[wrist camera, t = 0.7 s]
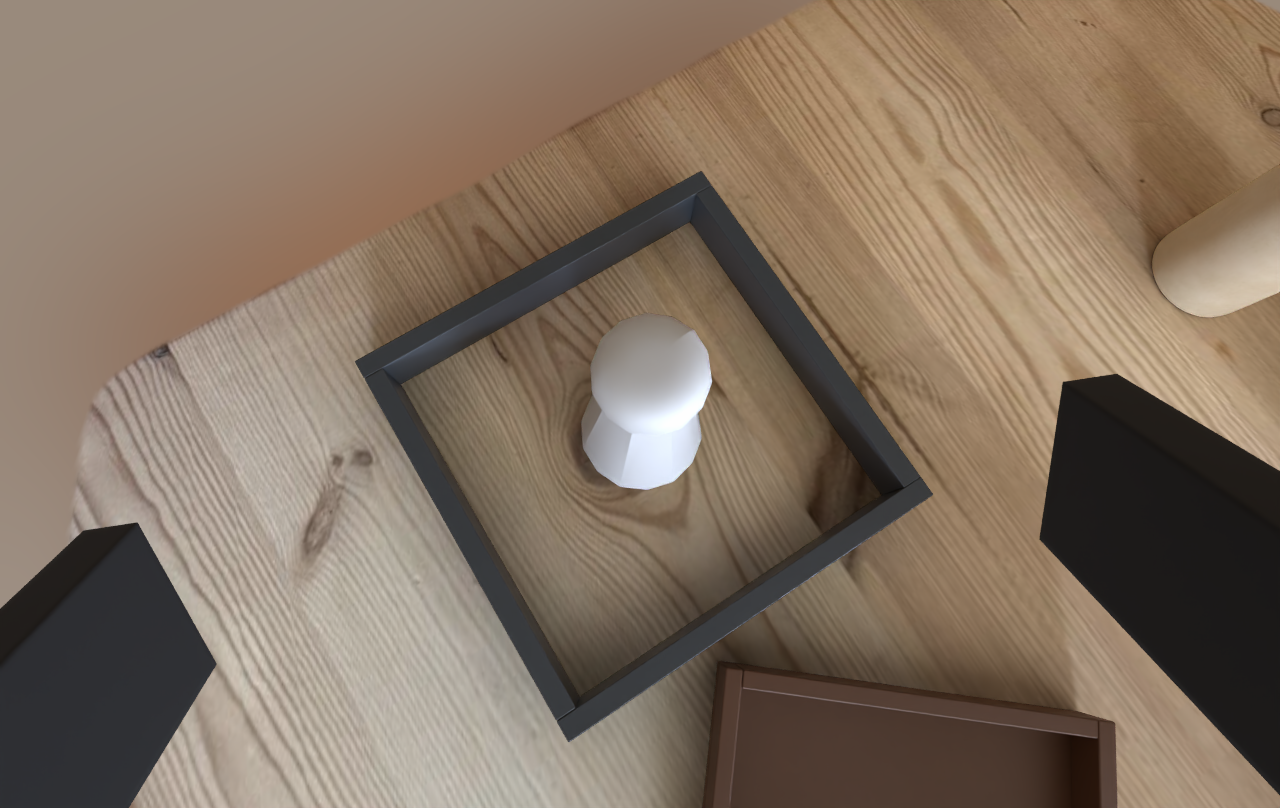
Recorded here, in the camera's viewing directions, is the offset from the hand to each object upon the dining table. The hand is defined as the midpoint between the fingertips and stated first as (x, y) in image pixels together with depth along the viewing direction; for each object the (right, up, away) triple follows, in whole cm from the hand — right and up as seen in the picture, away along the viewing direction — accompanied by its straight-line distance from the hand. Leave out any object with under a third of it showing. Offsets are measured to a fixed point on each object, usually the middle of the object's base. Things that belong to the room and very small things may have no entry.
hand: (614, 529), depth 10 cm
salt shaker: (0, 0, +26) cm, 26 cm away
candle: (+32, +9, +30) cm, 45 cm away
